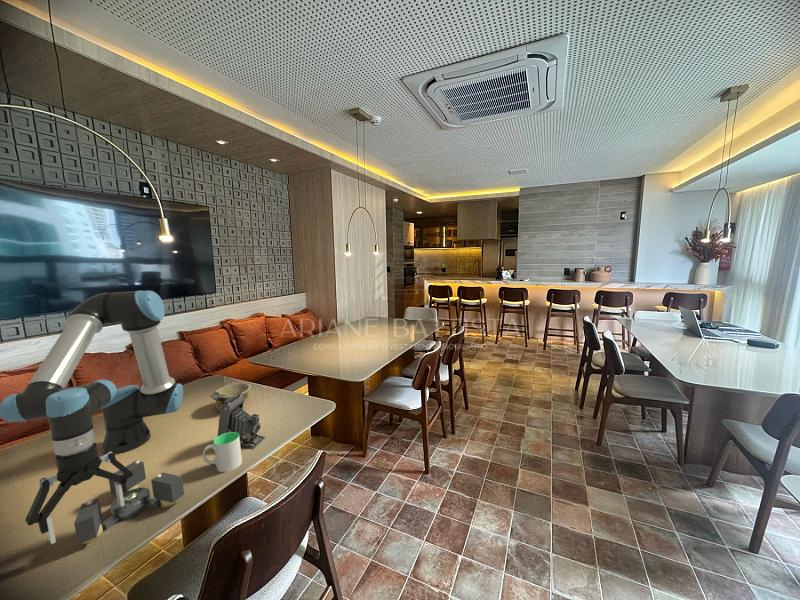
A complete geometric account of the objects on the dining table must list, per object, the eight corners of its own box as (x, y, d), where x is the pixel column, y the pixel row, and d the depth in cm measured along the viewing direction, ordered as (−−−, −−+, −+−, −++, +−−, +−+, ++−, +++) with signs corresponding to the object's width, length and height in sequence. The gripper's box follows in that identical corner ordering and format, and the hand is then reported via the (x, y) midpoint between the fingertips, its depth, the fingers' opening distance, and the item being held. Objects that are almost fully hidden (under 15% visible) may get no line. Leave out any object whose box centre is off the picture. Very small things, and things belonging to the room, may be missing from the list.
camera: (250, 459, 123) (257, 413, 119) (213, 445, 125) (219, 400, 122) (267, 443, 133) (274, 400, 130) (232, 430, 136) (239, 388, 133)
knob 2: (172, 509, 94) (169, 483, 93) (153, 504, 96) (149, 479, 95) (186, 499, 98) (183, 473, 97) (167, 494, 100) (163, 469, 99)
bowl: (241, 396, 172) (239, 380, 171) (258, 404, 162) (257, 387, 161) (206, 409, 158) (204, 391, 157) (223, 419, 148) (221, 400, 147)
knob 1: (76, 552, 81) (71, 522, 80) (84, 531, 87) (79, 503, 86) (100, 543, 83) (94, 513, 82) (105, 523, 90) (100, 495, 89)
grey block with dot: (111, 499, 99) (106, 474, 98) (138, 482, 106) (134, 458, 105) (120, 502, 98) (116, 476, 96) (147, 484, 105) (144, 460, 104)
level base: (87, 523, 90) (84, 508, 89) (132, 493, 101) (130, 479, 101) (121, 534, 86) (118, 518, 85) (164, 501, 97) (162, 487, 97)
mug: (202, 478, 107) (198, 449, 106) (206, 464, 115) (203, 437, 113) (241, 468, 112) (238, 441, 111) (242, 455, 119) (240, 429, 118)
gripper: (2, 482, 69) (20, 567, 72) (140, 429, 90) (150, 496, 93) (-4, 471, 73) (14, 551, 76) (130, 422, 94) (139, 487, 97)
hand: (89, 521), depth 85 cm, fingers open, 13 cm apart
